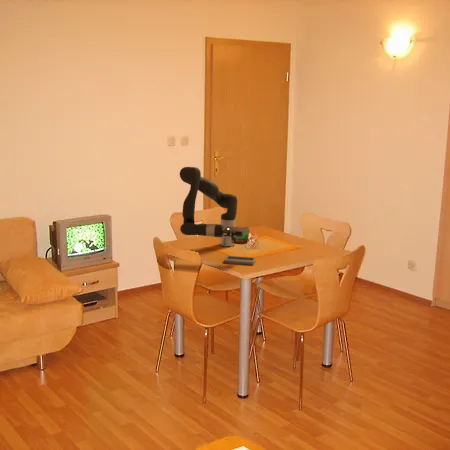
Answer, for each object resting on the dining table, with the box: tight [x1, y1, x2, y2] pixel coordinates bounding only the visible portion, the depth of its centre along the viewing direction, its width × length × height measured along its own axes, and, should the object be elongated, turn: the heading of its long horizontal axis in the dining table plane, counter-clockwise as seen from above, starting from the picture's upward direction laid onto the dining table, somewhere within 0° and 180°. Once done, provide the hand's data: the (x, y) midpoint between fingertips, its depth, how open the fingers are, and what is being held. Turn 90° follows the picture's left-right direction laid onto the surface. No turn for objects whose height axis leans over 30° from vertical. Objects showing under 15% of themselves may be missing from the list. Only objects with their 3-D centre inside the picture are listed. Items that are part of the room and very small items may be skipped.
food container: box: [230, 225, 252, 245], centre depth 356 cm, size 12×6×10 cm, turn 99°
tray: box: [223, 255, 257, 266], centre depth 359 cm, size 10×17×2 cm, turn 80°
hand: (242, 232), depth 355 cm, fingers closed on food container, 7 cm apart
